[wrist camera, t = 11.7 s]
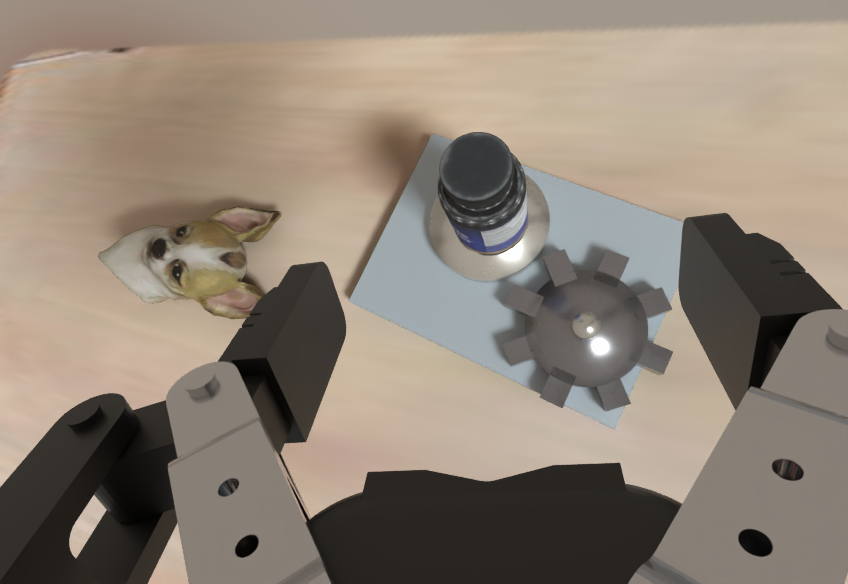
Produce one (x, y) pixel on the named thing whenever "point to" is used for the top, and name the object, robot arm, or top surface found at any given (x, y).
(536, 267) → the gear board
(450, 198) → the pill bottle
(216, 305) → the ceramic sculpture
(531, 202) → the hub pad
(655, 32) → the top surface
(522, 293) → the gear
